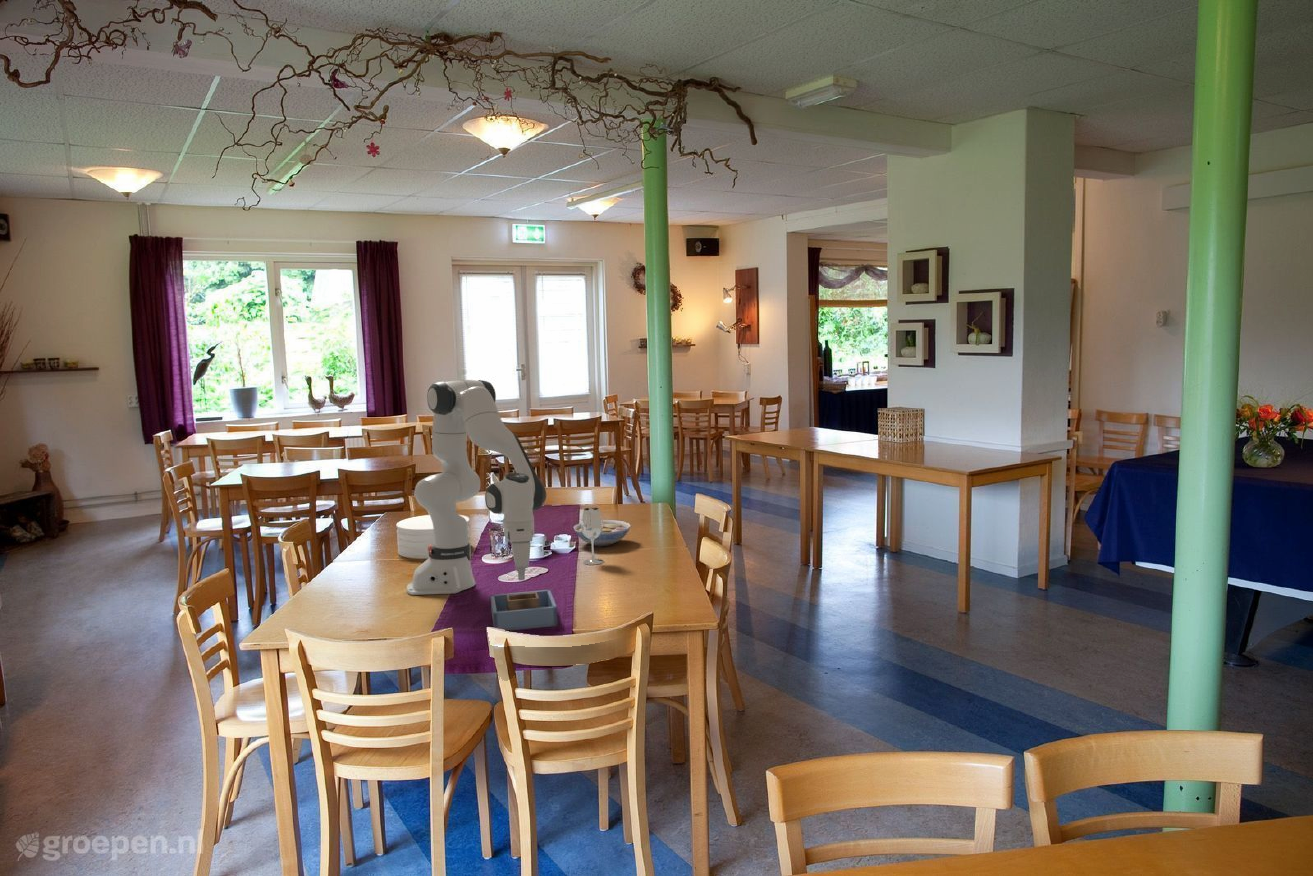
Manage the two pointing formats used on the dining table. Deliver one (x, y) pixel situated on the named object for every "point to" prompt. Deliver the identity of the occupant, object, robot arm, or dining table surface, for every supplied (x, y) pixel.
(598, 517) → the wineglass
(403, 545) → the plate stack
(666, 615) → the dining table surface
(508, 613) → the blue crate
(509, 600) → the walnut crate
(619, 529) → the ramen bowl
